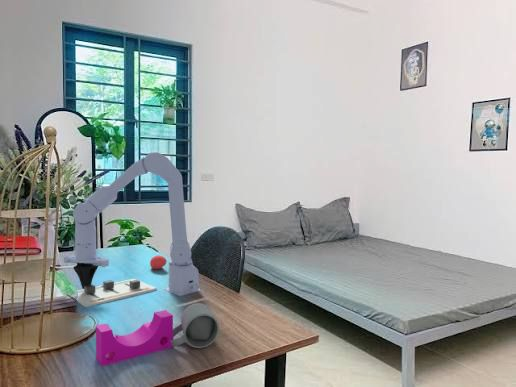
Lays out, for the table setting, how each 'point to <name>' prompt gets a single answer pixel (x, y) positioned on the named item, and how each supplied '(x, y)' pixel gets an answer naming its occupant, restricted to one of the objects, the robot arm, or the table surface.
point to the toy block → (134, 340)
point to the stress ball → (158, 262)
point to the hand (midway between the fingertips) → (86, 288)
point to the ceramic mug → (196, 327)
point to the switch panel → (112, 293)
